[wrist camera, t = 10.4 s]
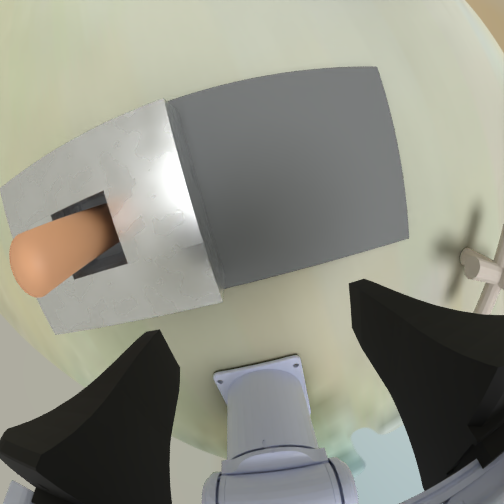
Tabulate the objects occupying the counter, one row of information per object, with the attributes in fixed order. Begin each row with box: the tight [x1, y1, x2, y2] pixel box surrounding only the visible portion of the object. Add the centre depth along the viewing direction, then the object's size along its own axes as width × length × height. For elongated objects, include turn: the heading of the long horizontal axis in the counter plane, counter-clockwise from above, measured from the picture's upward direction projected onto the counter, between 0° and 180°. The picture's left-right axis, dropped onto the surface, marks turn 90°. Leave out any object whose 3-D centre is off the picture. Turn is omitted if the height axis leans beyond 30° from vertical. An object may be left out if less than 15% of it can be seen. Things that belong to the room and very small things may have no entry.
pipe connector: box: [460, 225, 504, 315], centre depth 16 cm, size 10×10×10 cm
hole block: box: [0, 98, 225, 335], centre depth 16 cm, size 12×14×4 cm
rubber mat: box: [81, 67, 409, 289], centre depth 18 cm, size 14×30×1 cm, turn 104°
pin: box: [9, 203, 120, 298], centre depth 13 cm, size 3×3×10 cm
